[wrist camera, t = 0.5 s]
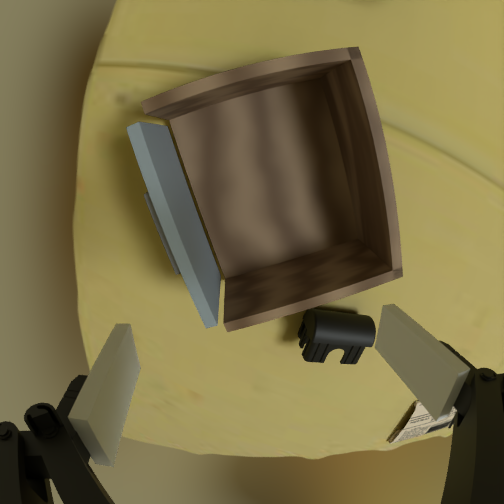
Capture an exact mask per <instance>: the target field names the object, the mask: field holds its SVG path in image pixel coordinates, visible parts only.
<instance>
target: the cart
mask: <svg viewBox="0 0 504 504" xmlns="http://www.w3.org/2000/svg"><path fill="white" fill-rule="evenodd" d="M141 104H142V107H143V110H144V113H145V114H146V115H150V116H154V117H158V118H162V119H166V120H169V121H170V124H171V127H172V130H173V133H174V136H175V139H176V142H177V145H178V148H179V151H180V154H181V157H182V160H183V163H184V166H185V169H186V172H187V175H188V178H189V181H190V184H191V186H192V189H193V192H194V195H195V198H196V201H197V203H198V206H199V209H200V212H201V215H202V217H203V220H204V223H205V226H206V229H207V231H208V234H209V237H210V239H211V242H212V245H213V248H214V250H215V253H216V256H217V258H218V261H219V264H220V266H221V269H222V272H223V274H224V277H225V298H224V326H225V328H226V330H227V332H230V331H234V330H238V329H241V328H245V327H249V326H252V325H256V324H260V323H263V322H267V321H270V320H274V319H277V318H281V317H284V316H287V315H291V314H294V313H297V312H301V311H304V310H307V309H310V308H313V307H317V306H320V305H323V304H326V303H329V302H332V301H335V300H338V299H341V298H344V297H347V296H350V295H353V294H356V293H359V292H362V291H364V290H367V289H370V288H373V287H376V286H378V285H381V284H384V283H387V282H389V281H392V280H395V279H397V278H400V277H403V272H402V256H401V244H400V233H399V223H398V215H397V207H396V200H395V193H394V186H393V180H392V174H391V168H390V163H389V158H388V153H387V148H386V143H385V138H384V134H383V129H382V125H381V121H380V117H379V113H378V109H377V105H376V101H375V98H374V94H373V91H372V87H371V84H370V80H369V77H368V74H367V71H366V68H365V65H364V62H363V59H362V56H361V53H360V50H359V47H349V48H340V49H331V50H324V51H317V52H310V53H304V54H298V55H292V56H287V57H282V58H277V59H273V60H268V61H264V62H259V63H255V64H251V65H247V66H243V67H239V68H236V69H232V70H229V71H225V72H222V73H218V74H215V75H212V76H209V77H206V78H202V79H199V80H196V81H194V82H191V83H188V84H185V85H182V86H179V87H177V88H174V89H171V90H169V91H166V92H164V93H161V94H159V95H156V96H154V97H151V98H149V99H147V100H144V101H142V102H141Z"/></svg>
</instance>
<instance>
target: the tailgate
mask: <svg viewBox="0 0 504 504" xmlns="http://www.w3.org/2000/svg"><path fill="white" fill-rule="evenodd" d="M126 129H127V132H128V135H129V138H130V141H131V144H132V147H133V150H134V153H135V156H136V159H137V162H138V165H139V167H140V170H141V173H142V176H143V179H144V181H145V184H146V187H147V190H148V192H147V193H145V194H144V197H145V200H146V202H147V205H148V208H149V210H150V213H151V215H152V218H153V220H154V223H155V225H156V228H157V230H158V233H159V235H160V238H161V240H162V243H163V245H164V248H165V250H166V252H167V255H168V257H169V259H170V262H171V264H172V266H173V269H174V271H175V273H176V275H177V274H180V273H181V274H182V277H183V279H184V281H185V284H186V286H187V288H188V290H189V293H190V295H191V297H192V299H193V301H194V304H195V306H196V308H197V310H198V312H199V314H200V317H201V319H202V321H203V323H204V325H205V327H206V328H209V327H213V326H217V324H218V309H219V295H220V281H221V275H220V272H219V270H218V267H217V264H216V262H215V259H214V256H213V254H212V251H211V249H210V246H209V243H208V240H207V238H206V235H205V232H204V230H203V227H202V224H201V221H200V219H199V216H198V213H197V210H196V208H195V205H194V202H193V199H192V196H191V194H190V191H189V188H188V185H187V182H186V179H185V176H184V174H183V171H182V168H181V165H180V162H179V159H178V156H177V153H176V150H175V147H174V144H173V141H172V138H171V135H170V132H169V129H168V126H164V125H158V124H151V123H144V122H137V123H135V124H133V125H131V126H128V127H126Z"/></svg>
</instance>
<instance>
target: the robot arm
mask: <svg viewBox="0 0 504 504" xmlns="http://www.w3.org/2000/svg"><path fill="white" fill-rule="evenodd" d="M375 349H376V350H377V351H378V352H379V353H380V354H381V356H382V357H383V358H384V359H385V360H386V362H387V363H388V364H389V365H390V366H391V367H392V369H393V370H394V371H395V372H396V373H397V375H398V376H399V377H400V378H401V379H402V381H403V382H404V383H405V384H406V385H407V387H408V388H409V389H410V390H411V391H412V393H413V394H414V395H415V396H416V398H417V399H418V400H419V401H420V402H421V404H422V405H423V406H424V407H425V409H426V410H427V411H428V412H429V414H430V415H431V416H432V417H433V418H434V420H435V421H436V422H437V421H439V420H441V419H443V418H446V417H448V416H449V414H450V412H451V410H452V408H453V407H454V408H455V409H456V410H457V411H456V413H455V415H454V417H453V419H452V421H451V423H450V424H449V427H448V428H451V426H452V424H454V426H453V437H452V445H451V453H450V459H449V466H448V472H447V477H446V482H445V487H444V492H443V496H442V500H441V504H504V373H503V374H496V373H495V372H494V371H493V370H491V369H488V368H479V369H476V368H475V367H474V366H473V365H472V364H471V363H470V362H468V361H467V360H466V359H465V358H464V357H463V356H460V354H459V353H458V352H457V351H455V350H454V349H453V348H452V347H451V346H450V345H449V344H446V343H444V342H442V341H438V340H437V339H436V338H435V337H433V336H432V335H431V334H430V333H429V332H428V331H426V330H425V329H424V328H423V327H422V326H420V325H419V324H418V323H417V322H416V321H414V320H413V319H412V318H411V317H410V316H408V315H407V314H406V313H405V312H403V311H402V310H401V309H400V308H399V307H397V306H396V305H395V304H390V305H383V308H382V313H381V319H380V324H379V330H378V335H377V340H376V344H375ZM140 369H141V367H140V363H139V359H138V355H137V351H136V347H135V343H134V338H133V334H132V329H131V325H130V324H116V325H115V327H114V329H113V330H112V332H111V334H110V336H109V337H108V339H107V341H106V343H105V345H104V347H103V348H102V350H101V352H100V354H99V356H98V358H97V360H96V361H95V363H94V365H93V367H92V369H91V371H90V373H89V375H88V376H85V375H78V377H76V378H75V379H74V380H73V381H71V383H70V385H69V387H68V389H67V391H66V392H65V394H64V398H62V400H61V401H60V403H59V405H58V407H57V409H56V410H55V408H54V407H53V406H52V405H50V404H48V403H38V404H35V405H33V406H31V407H30V408H29V409H28V410H27V411H26V413H25V415H24V421H25V422H26V424H27V425H28V427H29V429H30V430H31V431H19V430H18V428H17V427H16V426H15V425H14V424H13V423H11V422H6V421H5V422H1V423H0V504H54V502H53V497H52V492H51V487H50V481H49V479H52V481H53V483H54V485H55V487H56V489H57V491H58V494H59V495H60V498H61V499H62V501H63V503H64V504H115V503H114V502H113V500H112V499H111V498H110V496H109V495H108V493H107V492H106V490H105V489H104V488H103V486H102V485H101V483H100V481H99V480H98V478H97V477H96V475H95V474H94V472H93V470H92V469H91V467H90V466H89V464H88V462H89V459H90V456H91V458H92V459H93V460H94V462H95V464H99V465H105V466H112V467H114V463H115V458H116V454H117V450H118V446H119V442H120V438H121V435H122V431H123V427H124V424H125V420H126V416H127V413H128V409H129V406H130V402H131V399H132V395H133V392H134V388H135V385H136V382H137V379H138V375H139V372H140Z"/></svg>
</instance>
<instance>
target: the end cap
mask: <svg viewBox="0 0 504 504" xmlns="http://www.w3.org/2000/svg"><path fill="white" fill-rule="evenodd" d="M375 334H376V328H375V323H374V321H373V319H372V318H371V317H370V316H367V315H359V314H350V313H342V312H334V311H327V310H319V309H312V308H311V309H308V310H307V311H306V313H305V314H304V316H303V322H302V324H301V327H300V330H299V332H298V337H299V338H300V341H299V346H300V348H303V347H304V344H305V343H306V345H305V348H304V350H303V352H302V356H303V358H304V360H305V361H307V362H319V363H324V361H325V359H326V357H327V355H328V354H329V352H331V351H332V350H334V349H343V350H344V355H343V357H342V359H341V361H340V363H341V364H356V363H357V362H358V360H359V358H360V356H361V354H362V352H363V351H364V349H365V347H372V346H373V344H374V340H375Z"/></svg>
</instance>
